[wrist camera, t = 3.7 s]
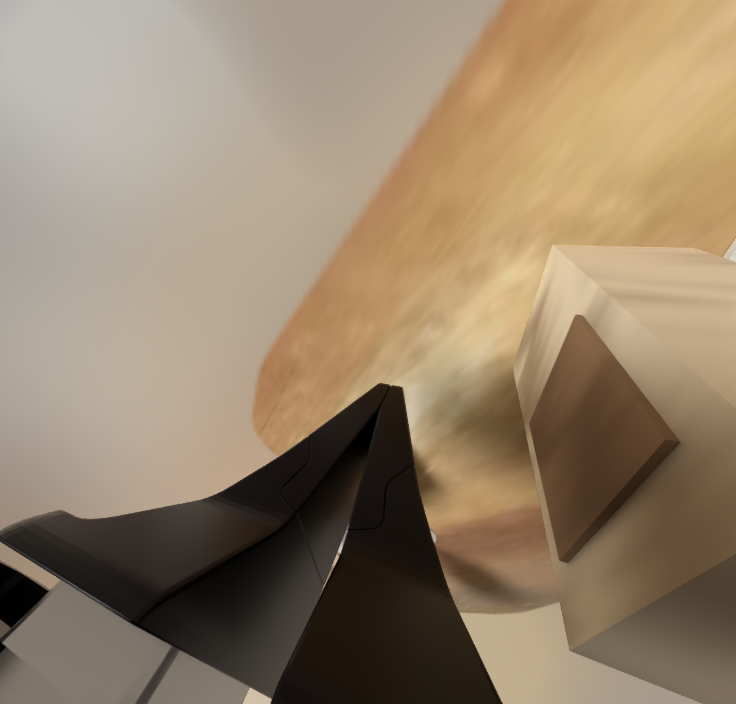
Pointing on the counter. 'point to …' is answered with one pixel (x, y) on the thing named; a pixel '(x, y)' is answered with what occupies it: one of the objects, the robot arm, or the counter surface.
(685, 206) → the counter surface
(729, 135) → the counter surface
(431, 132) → the counter surface
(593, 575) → the birch block
